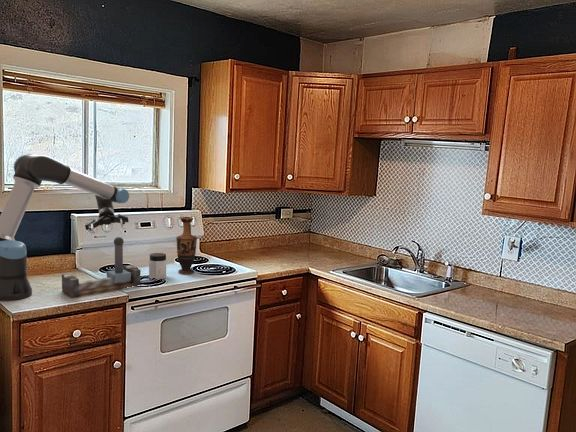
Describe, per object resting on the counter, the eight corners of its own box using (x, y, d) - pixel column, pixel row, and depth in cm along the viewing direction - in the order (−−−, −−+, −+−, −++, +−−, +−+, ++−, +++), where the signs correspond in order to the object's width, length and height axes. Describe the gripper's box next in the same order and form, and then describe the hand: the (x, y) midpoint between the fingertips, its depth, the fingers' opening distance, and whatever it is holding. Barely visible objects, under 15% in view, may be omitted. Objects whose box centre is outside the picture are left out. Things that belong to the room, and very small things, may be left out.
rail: (69, 298, 211) (69, 279, 210) (59, 291, 220) (59, 273, 219) (142, 285, 235) (142, 268, 234) (130, 280, 243) (130, 263, 242)
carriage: (114, 283, 227) (114, 239, 224) (106, 279, 233) (106, 236, 230) (131, 280, 232) (131, 237, 229) (122, 276, 239) (122, 234, 236)
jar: (151, 280, 245) (151, 256, 244) (146, 276, 252) (146, 253, 250) (168, 278, 250) (169, 255, 248) (163, 274, 257) (163, 252, 255)
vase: (192, 275, 256) (192, 219, 252) (172, 274, 258) (173, 218, 254) (199, 271, 267) (200, 216, 263) (180, 269, 269) (181, 215, 265)
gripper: (132, 218, 259) (135, 230, 240) (82, 227, 251) (81, 240, 232) (130, 204, 256) (132, 215, 237) (79, 213, 249) (77, 225, 230)
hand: (107, 228), depth 234 cm, fingers open, 13 cm apart
